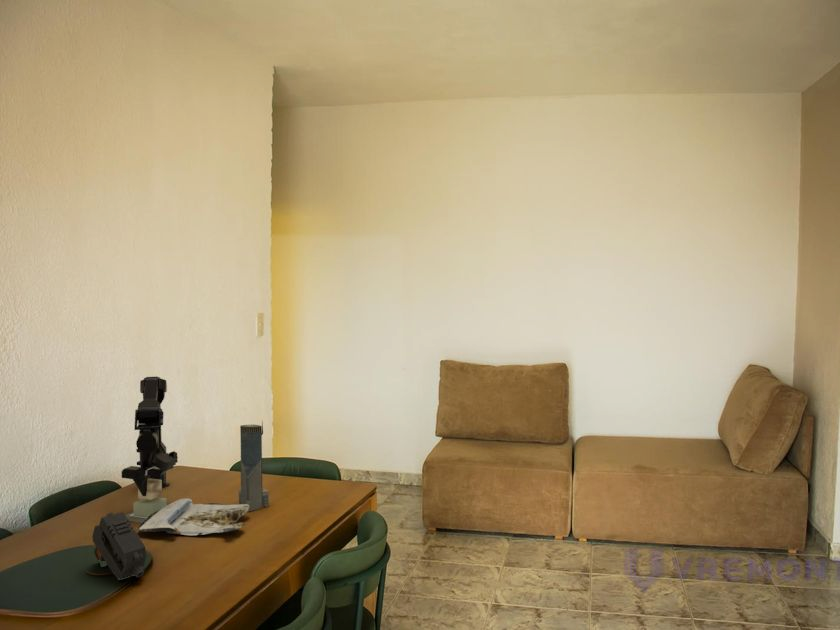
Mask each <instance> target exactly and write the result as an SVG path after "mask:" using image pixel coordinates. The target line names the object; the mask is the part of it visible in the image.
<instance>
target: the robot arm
mask: <svg viewBox="0 0 840 630" xmlns="http://www.w3.org/2000/svg"><path fill="white" fill-rule="evenodd" d="M139 383H140V384H139V388H140V389H139V390H140V391H139V392H140V394H142V401H140V402H139V403H137V404H138V405H137V409H135V411H134V431H138V437H137V440H136V442H135V444H136V447H137V448H136V453H139V461H136V465H131V466H130V465H129V466H128V467H125V468H123V469H122V470H121V472H120V473H121V479H126V480H127V479H128V480H132V481H133V482H134V483H135V486H136V487H137V490H138V489H139V490H140V492H141V494H142V496H146V492H147V480H148V478H150V479H159V480H162V489H163V488H165V487H168V486H170V485H171V484H170V483H169V482H167V472H168V471H169V470H172V469H173V468H174V467H175V466H176V465H177V463H178V457H179V456H178V452H177V451H175V450H173V451H170V452H167V446H166V445H165V443H164V442H163V441H162V426H163V425H164V411H163V409H162V407H161V406H162V405H161V404H162V403H163V401H164V400H165V398H166V397H165V395H166V393H167V392H168V385H167V383H168V382H167V380H166V379H165V378H162V377H160V376H146V377H143V379H142V380H140V382H139Z"/></svg>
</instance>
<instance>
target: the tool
mask: <svg viewBox="0 0 840 630" xmlns="http://www.w3.org/2000/svg"><path fill="white" fill-rule="evenodd" d="M126 515H127V514H125V512H124V511H123V512H122V511H121V512H118V513H115V514H114V513H113V512H109V513H107V514H106V515H105V516H102V517H100V521H99V524H98V525H95V526H94V529H93V532H92V535H91V536H92V542H93V544H94V545H95V548H94V550H93V554H94V556H95V558H96V559H98V560H99V559H100V560H101V562H102V561H106V563H107V565H108V566H107V567H108V568H109V569H110V571H111V573H112V574H113V576H114V575H115V576H117V577H118V578H120V579H122V578H125V577H128V576H131V575H133V574H135V575H136V576H135V577H136V578H140V577H142V576H143V575H144V573H145V571H144V569H143V567H144V566H145V564H146V560H147V558H148V557H147V550H146V549H147V548H146V545H145V544H144V543H143V541H142V540H141V538H140V536H139V535H138V532H137V531H136V530H135V529H134V527H133V525H132V523H131V521H128V519H127V517H126ZM98 560H97V561H98ZM115 576H114V577H115Z"/></svg>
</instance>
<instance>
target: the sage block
mask: <svg viewBox="0 0 840 630" xmlns="http://www.w3.org/2000/svg"><path fill="white" fill-rule="evenodd" d="M167 500H168V499H167V497H161V496H159V497H157V498H154V499H152V500H148V499H138V500H136V501H134V502H133V503H132V504H133V505H132V506H133V508H132V509H133V511H132V512H133V514H134V515H136V516H143V517H149V516H150V515H151V514H152V513H154V512H156V511H158V510H160V509H162V508H164V507H165V506H167V505H168V503H167V502H168V501H167Z"/></svg>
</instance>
